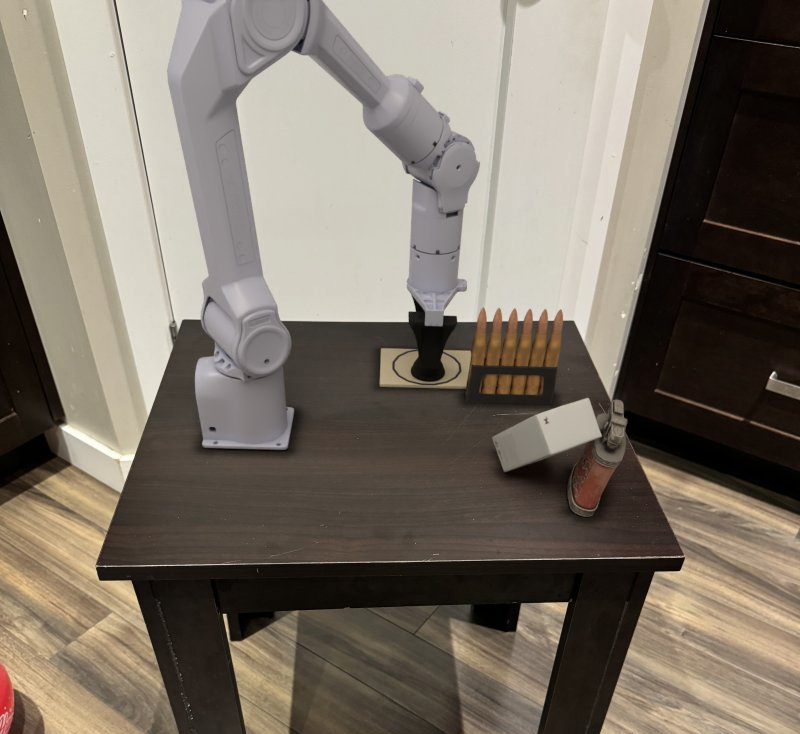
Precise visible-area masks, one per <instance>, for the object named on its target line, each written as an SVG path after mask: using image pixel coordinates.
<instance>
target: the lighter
mask: <svg viewBox="0 0 800 734" xmlns="http://www.w3.org/2000/svg"><path fill="white" fill-rule="evenodd" d="M607 411H608V412H607V413H606V412H605V413H604V412H601V413H598V415H597V416H596V420H597V424H598V427H599V430H600V432H601V435H602V437H600V438H598V439H595V440H593V441H590V442H587V443H585V444H586V445H585V446H584V449H583V451H582V453H581V454H580V457H579V459H578V461H576V463H574V465H573V467H572V470H571V472H570V475H569V477H568V482H567V499H568V504H569V507H570V510H571V511H572V512H573V513H575V514H577V515H579V516H581V517H585V518H587V517H592V516H593V515H594V514H595V513H596V511H597V508H598V507H599V504H600V500H601V496H602V495H603V492H604V491H605V489H606V487H607V485H608V483H609V481H610V480H611V477H612V476H613V474H614V472H615V470H616V469H617V467H619V466H620V464H621V463H622V461H623V457H624V455H625V452H626V447H627V437H626V428H627V425H628V418H625V417H624V412H625V409H624V402H623V401H622V400H619V399H614V400H612V402H611V403H610V405H609V408H608V410H607Z"/></svg>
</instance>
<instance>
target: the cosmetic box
mask: <svg viewBox="0 0 800 734" xmlns="http://www.w3.org/2000/svg"><path fill="white" fill-rule="evenodd" d="M596 418H597V416H596V413H595V411H594V408H593V406H592V403H591V400H590V398H589V397H585V398H582V399H579V400H576V401H572V402H570V403H566V404H562V405H560V406H557V407H554V408H551V409H549V410H546V411H542V412H540V413H537V414H534V415H532V416H530V417H528V418H526V419H525V420H523V421H521V422H519V423H517V424H515V425H513V426H511V427H509V428H507V429H505V430H503V431H500V432H499V433H497V434H496V435H493V436H492V437H491V439H492V443H493V445H494V447H495V450H496V454H497V456H498V458H499V462H500V465H501V468H502V470H503V472H504V473H507V472H511V471H514V470H516V469H520V468H522V467H524V466H528V465H531V464H534V463H537V462H540V461H542V460H545V459H548V458H551V457H554V456H556V455H559V454H561V453H564V452H567V451H569V450H572V449H575V448H577V447H579V446H582V445H585V444H587V442H590V441H593V440H595V439H598V438H600V437H602V435H601V432H600V430H599V427H598V424H597V420H596Z"/></svg>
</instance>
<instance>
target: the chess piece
mask: <svg viewBox="0 0 800 734" xmlns="http://www.w3.org/2000/svg"><path fill="white" fill-rule="evenodd" d="M411 374H412V376H413V377H414V378H416V379H418V380H421V381H425V382H433V381H438V380H440V379H442V378H443V377H444V375H445V369H444V367H443V363H442V362H441V361H440V363H439V366H438V368H437V369H432V368H421V366H420V362H419V356H418V358H417V359H416V360H415V362H414V364H413V366H412V367H411Z"/></svg>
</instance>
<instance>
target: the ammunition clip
mask: <svg viewBox="0 0 800 734" xmlns="http://www.w3.org/2000/svg"><path fill="white" fill-rule="evenodd" d="M517 311H518V310H517V309H516V307H514V308H513V309H512V310H511V313H510V315H509V317H508V321H507V325H506V330H505V336H504V338H503V342H502V332H503V331H502V330H503V313H502V309H501V307H497V309H496V311H495V312H494V316H493V318H492V322H491V329H490V333H489V338H488V341H487V325H488V324H487V323H488V322H487V321H488V319H487V318H488V317H487V311H486V309H485V307H482V308H481V309H480V311H479V314H478V317H477V320H476V324H475V325H476V326H475V331H474V337H473V339H472V344H471V361H470V367H469V373H468V379H467V385H466V389H465V392H464V397H465V402H466V403H481V404H483V403H485V404H527V405H528V404H529V405H530V404H531V405H532V404H533V405H551V404H553V403H554V396H555V388H556V382H557V375H558V364H559V359H560V353H561V348H562V337H563V335H562V334H563V328H564V314H563V313H564V312H563V310H562V309H559V310H558V311H557V313H556V315H555V317H554V319H553V323H552V327H551V331H550V334H549V337H548V340H547V336H548V326H549V316H548V310H547V308H544V310H543V311H542V312H541V314H540V316H539V319H538V322H537V325H536V331H535V335H534V338H533V340H532V337H533V336H532V335H533V324H534V317H533V310H532V308H529V309H528V310H527V312H526V313H525V315H524V318H523V321H522V326H521V330H520V335H519V338H518V340H517V335H518V325H519V324H518V323H519V322H518V321H519V318H518V312H517Z"/></svg>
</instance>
